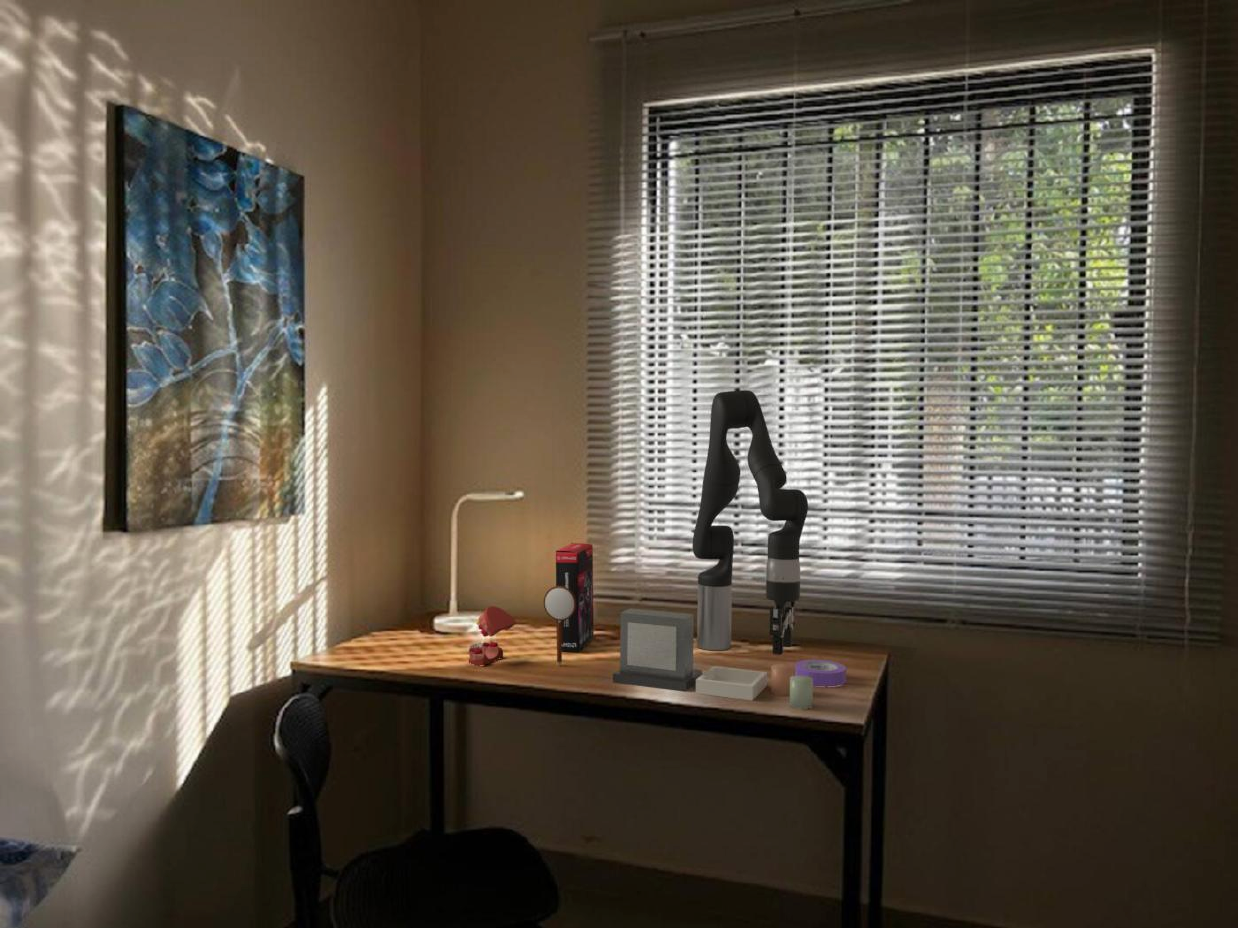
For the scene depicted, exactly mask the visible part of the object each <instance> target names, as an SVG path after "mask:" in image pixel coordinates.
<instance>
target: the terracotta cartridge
mask: <svg viewBox="0 0 1238 928" xmlns="http://www.w3.org/2000/svg"><path fill="white" fill-rule="evenodd" d="M770 668H771V669H770V670H771V671H770V679H771V680H770V693H772V695H773V694H774V695H773V696H776V695H777V697H790V677H792V676H794V666H792V665H789V664H785V663H784V664H783V663H776V664H775V663H774V664H772V665H771V666H770Z"/></svg>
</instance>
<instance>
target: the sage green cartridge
mask: <svg viewBox="0 0 1238 928" xmlns="http://www.w3.org/2000/svg"><path fill="white" fill-rule="evenodd" d="M813 690H814V687H813V678H811V677H808V676H795V675H793V676H792V677H790V696H789V707H790V706H792V707H794V708H801V709H805V708H811V707H812V708H813V702H814V701H813V696H814V692H813ZM794 708H793V709H794ZM812 708H811V709H812Z"/></svg>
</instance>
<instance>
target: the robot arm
mask: <svg viewBox="0 0 1238 928" xmlns="http://www.w3.org/2000/svg"><path fill="white" fill-rule="evenodd" d="M764 416H765V415H764V412H763V410H762V405H761V404H760V402H759V399H758V397H757V396H756V394H755V393H754V392H753V391H751V390H745V389H744V390H742V389H740V390H731V391H730V390H729V391H721V392H717V393H716V394H715V395H714V397H713V399H712V403H711V408H710V423H709V424H710V426H709V439H708V440H709V441H708V449H707V456H706V462H705V467H704V473H703V478H702V489H701V496H700V503H699V505H700V506H699V511H698V515H697V518H696V522H695V527H694V532H693V535H692V536H693V537H692V552H693V556H695V558H697V559H698V560H718V561H717V563H716V564H715V565H714V566H712V567H711V568H709V569H706V570H703V571H701V572H699V574H698V575H697V620H696V621H697V623H696V624H697V625H696V626H697V627H696V630H697V632H696V633H697V634H696V646H697V648H700V649H703V650H706V651H725V650H726V651H727V650H729V649H731V648H730V647H732V600H733V599H732V597H733V596H732V595H733V593H732V592H733V591H732V589H733V588H732V587H733V586H732V584H733V581H732V580H733V563H734V547H735V536H734V532H733V529H732V527H731V526H730V525H713V523H714V521H715V519H716V518H717V517H718V515H720V513H721V512H722V511H723V510H725V508H727V507H728V506H729V505H730V504H731V502H733V500H734V498H735V497H736V495H737V493H738V490H739V484H740V480H741V467H740V464H739V462H738V461H737V459H736V457H735V455H734V454H733V452H732V450H731V449H730V446H729V445H728V441H727V435H728V431H729V430H732V429H733V430H734V429H743V428H744V429H745V428H749V430H750V432H751V435H752V436H751V437H752V438H751V442H750V445H749V448H748V452H747V464H748V468H749V471H750V473H751V475H752V477H753V479H754V481H755V483H756V486H757V493H758V502H759V503H758V504H759V509H760V512H761V514H762V515H763V517H764V518H766V519H767V520H768V521H771V522H778V521H779V522H780V521H781V522H783V521H784V522H785V523H784V524H783V527H782V528H780V529H779V530H775V531H773V532H770V533H769V534H768V537H767V560H766V568H765V569H766V570H765V598H766V599H767V600H769V601H773V602H774V606H773V607H770V609H769V632H768V633H769V636H770V637H771V638H772V654H773V655H778V656H781V655H782V656H783V654H784V648H790V647H792V645H793V642H792V640H793V639H792V638H793V637H792V636H793V635H792V634H793V632H792V631H793V630H794V626H795V625H796V622H795V621H796V620H795V618H796V617H795V613H796V611H795V610H796V608H795V607H796V605H795V604H796V602H797V601H799V600H800V598H801V565H800V564H801V563H800V540H801V536H802V533H803V529H804V524H805V523H806V520H807V515H808V511H809V501H808V498H807V495H806V494H805V492H803V491H802V490H801V489H796V488H793V489H792V488H791V489H790V488H787V489H782V488H783V487H784V486H785V485H786V483H787V480H788V479H787V478H788V477H787V473H786V472H785V470H784V468H783V465H782V463H781V462H780V460H779V459H780V458H779V457H778V456H777V453H776V451H775V449H774V446H773V444H772V441H771V437H770V433H769V430H768V426H767V423H766V419H765V417H764ZM777 629H778V630H777Z"/></svg>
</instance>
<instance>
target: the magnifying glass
mask: <svg viewBox="0 0 1238 928" xmlns="http://www.w3.org/2000/svg"><path fill="white" fill-rule="evenodd" d="M543 609H544V610H545V612H546V614H547V615H548V616H549V617H550V618H551V619H552V620H555V621H556V620H558V622H556V662H557V665H558V666H559V667H560V666H561V665H562V662H563V661H562V660H563V656H562V655H563V652H562V622H561V621H562V620H566V619H568V618H570V617H571V616H572V615H573V613H574V612H575V609H576V599H575V596H574V594H573V593H572V592H571V591H570V590H569V589H568V588H566V587H564V586H556V585H555V586H553V587H551V588H550V589H548V590H547V591H546V593H545V594H544V597H543Z"/></svg>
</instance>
